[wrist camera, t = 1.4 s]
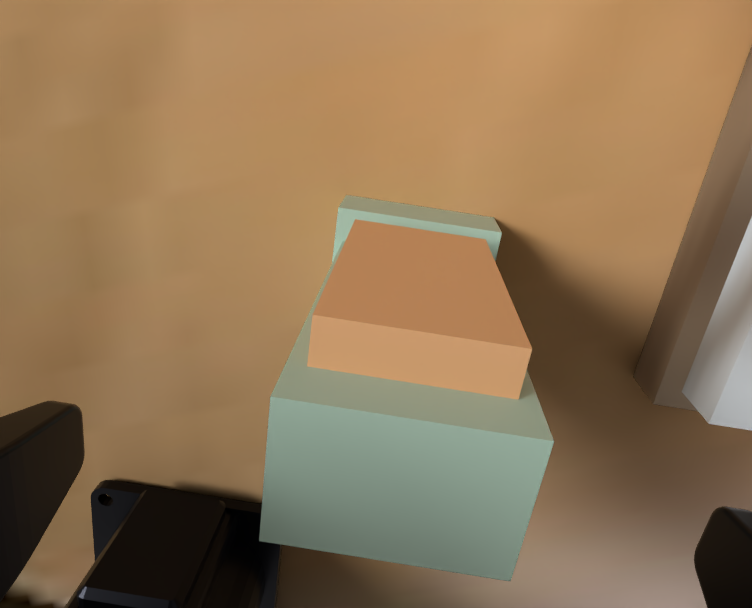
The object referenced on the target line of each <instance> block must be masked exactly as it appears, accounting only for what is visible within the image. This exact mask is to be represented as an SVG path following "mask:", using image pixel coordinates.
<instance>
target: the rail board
mask: <svg viewBox="0 0 752 608" xmlns="http://www.w3.org/2000/svg"><path fill="white" fill-rule="evenodd" d="M633 377H634V378H635V380H636V381H637V383H638V384H639V385H640V387H641V388H642V390H643V391H644V392H645V394H646V395H647V396H648V398H649V399H650V401H651V402H652V403H653V404H656V405H662V406H668V407H675V408H681V409H687V410H694V411H698V412H699V413H700V414H701V415H702V416H703V417H704V419H705V420H706V421H707V422H708V423H709V424H713V425H720V426H726V427H732V428H739V429H745V430H752V46H751V49H750V52H749V55H748V58H747V60H746V63H745V66H744V69H743V72H742V74H741V77H740V80H739V83H738V86H737V88H736V91H735V94H734V97H733V99H732V102H731V105H730V108H729V111H728V113H727V116H726V119H725V122H724V125H723V127H722V130H721V133H720V136H719V139H718V141H717V144H716V147H715V150H714V153H713V155H712V158H711V161H710V164H709V166H708V169H707V172H706V175H705V178H704V180H703V183H702V186H701V189H700V192H699V194H698V197H697V200H696V203H695V206H694V208H693V211H692V214H691V217H690V220H689V222H688V225H687V228H686V231H685V233H684V236H683V239H682V242H681V245H680V247H679V250H678V253H677V256H676V259H675V261H674V264H673V267H672V270H671V273H670V275H669V278H668V281H667V284H666V287H665V289H664V292H663V295H662V298H661V300H660V303H659V306H658V309H657V312H656V314H655V317H654V320H653V323H652V326H651V328H650V331H649V334H648V337H647V340H646V342H645V345H644V348H643V351H642V354H641V356H640V359H639V362H638V365H637V367H636V370H635V373H634V376H633Z"/></svg>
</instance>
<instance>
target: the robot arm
mask: <svg viewBox="0 0 752 608" xmlns="http://www.w3.org/2000/svg"><path fill="white" fill-rule="evenodd" d="M83 460H84V436H83V421H82V412H81V410H80V408H79V407H78V406H77V405H75V404H69V403H63V402H57V401H46V402H43V403H40V404H37V405H34V406H31V407H28V408H26V409H23V410H20V411H17V412H14V413H11V414H8V415H6V416H3V417H0V601H1V600H2V599H3V597H4V596H5V594H6V593H7V592H8V590H9V589H10V587H11V586H12V585H13V583H14V582H15V580H16V579H17V577H18V576H19V574H20V573H21V571H22V570H23V568H24V567H25V565H26V563H27V562H28V560H29V558H30V557H31V555H32V554H33V552H34V550H35V548H36V547H37V545H38V543H39V541H40V540H41V538H42V536H43V534H44V533H45V531H46V529H47V527H48V526H49V524H50V522H51V520H52V519H53V517H54V515H55V513H56V512H57V510H58V508H59V506H60V505H61V503H62V501H63V499H64V498H65V496H66V494H67V492H68V491H69V489H70V487H71V485H72V484H73V482H74V480H75V478H76V477H77V475H78V473H79V471H80V469H81V467H82V464H83ZM106 494H107V495H109V496H110V497H108V496H107V495H106ZM91 508H92V523H93V538H94V553H95V563H94V564H93V566H92V567H91V568H90V570H89V571H88V573H87V574H86V576H85V577H84V579H83V580H82V582H81V583H80V585H79V586H78V588H77V589H76V591H75V592H74V594H73V595H72V597H71V598H70V600H69V601H68V603H67V604H66V606H65V607H64V608H276V601H277V591H278V581H279V571H280V561H281V551H282V545H281V544H275V543H269V542H262V541H259V535H260V523H261V510H262V504H256V503H250V502H244V501H237V500H231V499H225V498H219V497H212V496H206V495H200V494H194V493H187V492H181V491H175V490H169V489H163V488H156V487H150V486H144V485H138V484H131V483H125V482H119V481H113V480H105V481H102V482H100V484H99V485H98V486H97V487H96V488H95V490H94V491H93V492H92V494H91ZM694 563H695V569H696V573H697V576H698V579H699V582H700V585H701V588H702V592H703V595H704V598H705V601H706V604H707V608H752V512H751V511H748V510H743V509H737V508H730V507H719V508H717V509H716V510H715V511H714V512H713V513H712V515H711V517H710V519H709V521H708V524H707V526H706V528H705V530H704V532H703V534H702V537H701V539H700V541H699V543H698V545H697V547H696V550H695V555H694Z"/></svg>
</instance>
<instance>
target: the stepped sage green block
mask: <svg viewBox="0 0 752 608" xmlns="http://www.w3.org/2000/svg"><path fill="white" fill-rule="evenodd" d="M501 235H502V232H501V230H500V228H499V226H498V224H497V223H496V221H495V219H494V217H487V216H481V215H474V214H468V213H461V212H455V211H448V210H442V209H435V208H428V207H422V206H415V205H409V204H402V203H396V202H389V201H383V200H376V199H370V198H363V197H357V196H350V195H346V196H345V198H344V199H343V201H342V203H341V204H340V206H339V208H338V217H337V225H336V234H335V243H334V251H333V260H332V265H331V267H330V269H329V271H328V274H327V276H326V278H325V280H324V282H323V284H322V287H321V289H320V291H319V293H318V295H317V297H316V299H315V302H314V304H313V306H312V308H311V310H310V312H309V315H308V317H307V319H306V321H305V323H304V325H303V328H302V330H301V332H300V334H299V336H298V338H297V340H296V343H295V345H294V347H293V349H292V351H291V353H290V356H289V358H288V360H287V362H286V364H285V366H284V369H283V371H282V373H281V375H280V377H279V379H278V381H277V384H276V386H275V388H274V390H273V392H272V394H271V397H270V409H269V422H268V434H267V447H266V460H265V472H264V485H263V498H262V510H261V523H260V535H259V541H262V542H269V543H275V544H281V545H287V546H293V547H300V548H306V549H312V550H318V551H325V552H331V553H337V554H343V555H349V556H356V557H362V558H368V559H374V560H380V561H387V562H393V563H399V564H405V565H411V566H418V567H424V568H430V569H436V570H442V571H449V572H455V573H461V574H467V575H474V576H480V577H486V578H492V579H498V580H505V581H511V578H512V575H513V571H514V568H515V565H516V562H517V559H518V555H519V552H520V549H521V546H522V543H523V539H524V536H525V533H526V530H527V527H528V523H529V520H530V517H531V514H532V511H533V507H534V504H535V501H536V498H537V495H538V491H539V488H540V485H541V482H542V479H543V475H544V472H545V469H546V466H547V463H548V459H549V456H550V453H551V450H552V447H553V443H554V440H553V437H552V434H551V432H550V429H549V426H548V424H547V421H546V418H545V416H544V413H543V411H542V408H541V405H540V403H539V400H538V397H537V395H536V392H535V389H534V387H533V384H532V381H531V379H530V376H529V373H528V371H527V367H528V363H529V359H530V356H531V352H532V347H531V345H530V342H529V340H528V338H527V335H526V333H525V331H524V328H523V326H522V324H521V321H520V319H519V317H518V314H517V312H516V309H515V307H514V305H513V302H512V300H511V298H510V295H509V293H508V291H507V288H506V286H505V284H504V281H503V279H502V277H501V274H500V272H499V269H498V267H497V265H496V262H495V261H496V256H497V252H498V248H499V243H500V239H501Z"/></svg>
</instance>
